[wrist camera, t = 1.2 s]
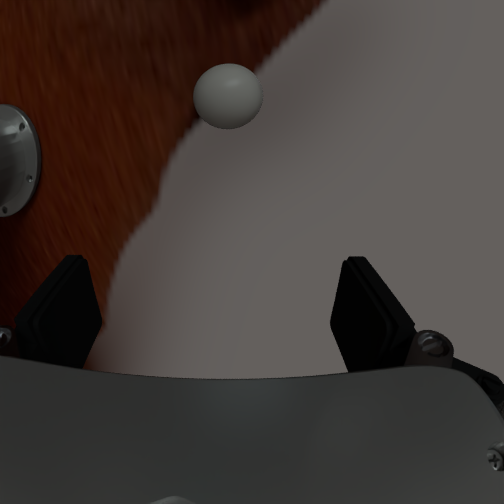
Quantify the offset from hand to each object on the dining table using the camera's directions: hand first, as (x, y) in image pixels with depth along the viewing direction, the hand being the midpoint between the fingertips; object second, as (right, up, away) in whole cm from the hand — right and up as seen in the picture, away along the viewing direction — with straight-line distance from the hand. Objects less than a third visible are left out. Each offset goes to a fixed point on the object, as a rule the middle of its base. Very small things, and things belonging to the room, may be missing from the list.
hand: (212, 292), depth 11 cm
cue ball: (0, +14, +11) cm, 18 cm away
